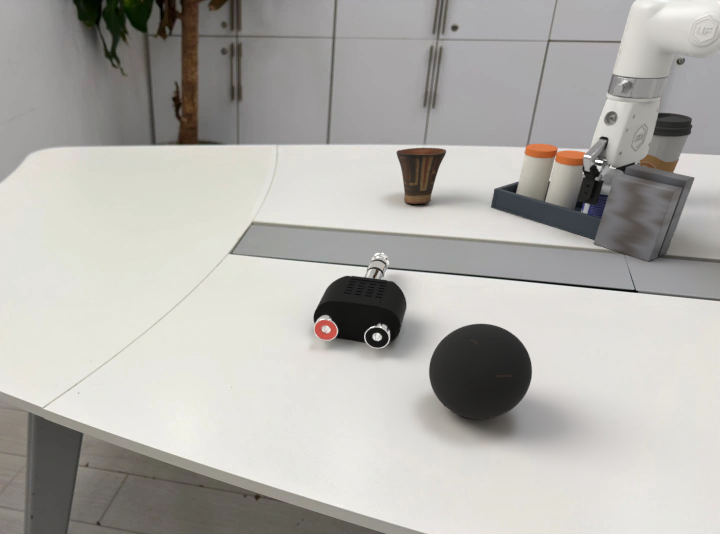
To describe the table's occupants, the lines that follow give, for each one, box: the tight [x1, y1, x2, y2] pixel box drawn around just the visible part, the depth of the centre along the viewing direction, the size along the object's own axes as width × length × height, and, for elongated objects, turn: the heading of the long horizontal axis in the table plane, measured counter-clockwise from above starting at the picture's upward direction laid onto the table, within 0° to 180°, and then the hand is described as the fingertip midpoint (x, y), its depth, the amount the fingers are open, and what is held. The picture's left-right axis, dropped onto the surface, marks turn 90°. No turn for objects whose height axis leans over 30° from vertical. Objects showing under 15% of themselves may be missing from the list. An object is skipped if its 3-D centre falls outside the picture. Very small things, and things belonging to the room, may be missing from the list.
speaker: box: [428, 323, 533, 420], centre depth 70 cm, size 10×10×10 cm
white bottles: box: [516, 143, 587, 210], centre depth 120 cm, size 11×5×10 cm, turn 33°
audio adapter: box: [313, 252, 407, 350], centre depth 92 cm, size 11×5×25 cm
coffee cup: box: [640, 112, 693, 173], centre depth 122 cm, size 8×8×15 cm
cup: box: [396, 147, 447, 205], centre depth 127 cm, size 9×9×10 cm
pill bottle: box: [581, 167, 624, 218], centre depth 114 cm, size 5×5×9 cm
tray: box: [490, 180, 601, 241], centre depth 120 cm, size 22×12×4 cm, turn 33°
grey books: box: [593, 164, 696, 262], centre depth 105 cm, size 9×5×12 cm, turn 33°
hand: (603, 196), depth 113 cm, fingers open, 9 cm apart
